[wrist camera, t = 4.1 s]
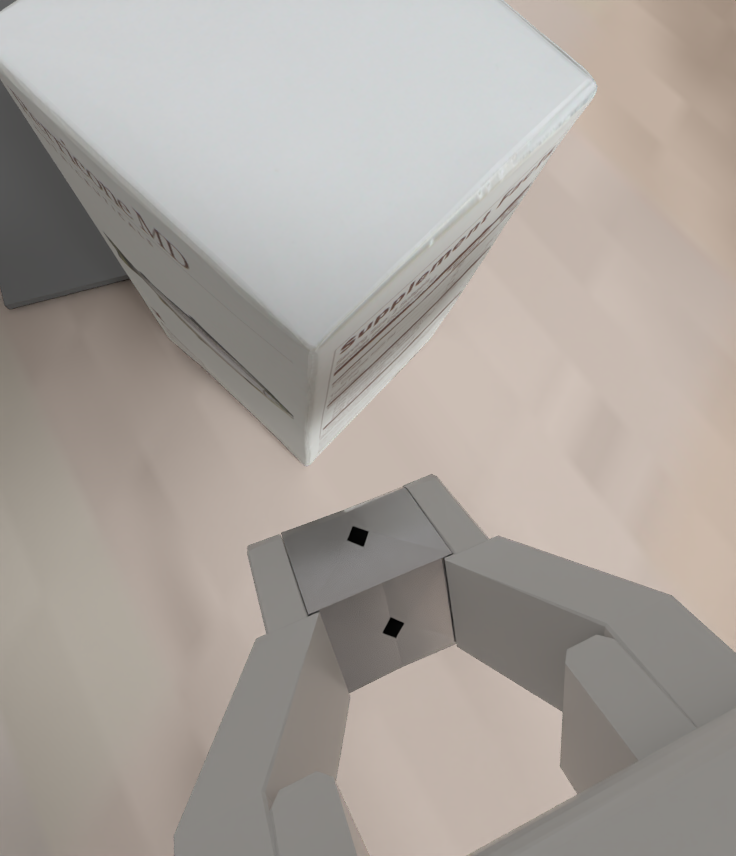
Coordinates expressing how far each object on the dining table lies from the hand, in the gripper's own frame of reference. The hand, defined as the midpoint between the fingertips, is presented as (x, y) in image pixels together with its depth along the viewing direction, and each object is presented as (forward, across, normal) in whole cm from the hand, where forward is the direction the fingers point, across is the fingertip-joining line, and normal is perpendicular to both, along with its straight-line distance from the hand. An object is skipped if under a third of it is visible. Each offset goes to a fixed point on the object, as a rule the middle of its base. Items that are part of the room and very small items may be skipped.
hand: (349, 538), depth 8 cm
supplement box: (+13, -2, +2) cm, 14 cm away
